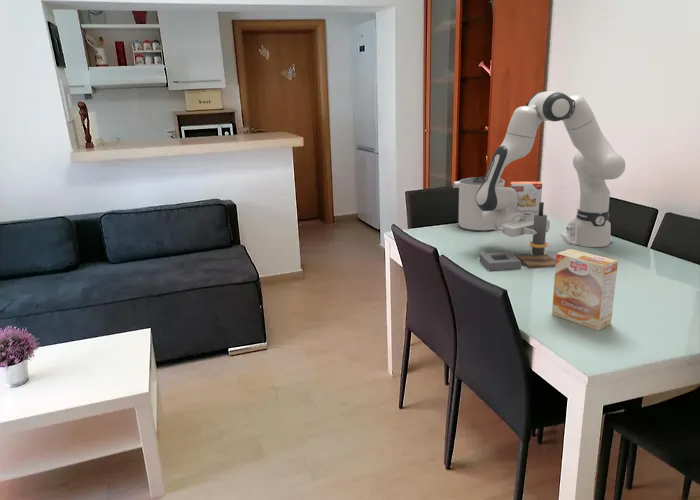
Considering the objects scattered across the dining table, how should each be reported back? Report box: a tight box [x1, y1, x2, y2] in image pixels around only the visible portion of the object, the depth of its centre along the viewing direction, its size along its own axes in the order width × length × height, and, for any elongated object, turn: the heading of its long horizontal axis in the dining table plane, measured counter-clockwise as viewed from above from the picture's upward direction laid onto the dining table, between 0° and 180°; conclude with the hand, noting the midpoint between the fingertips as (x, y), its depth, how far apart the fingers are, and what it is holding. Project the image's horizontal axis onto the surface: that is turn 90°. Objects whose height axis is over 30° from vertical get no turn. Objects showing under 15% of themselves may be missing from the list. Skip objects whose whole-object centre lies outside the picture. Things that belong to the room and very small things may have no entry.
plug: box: [529, 201, 549, 255], centre depth 200 cm, size 6×6×20 cm
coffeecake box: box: [551, 248, 619, 332], centre depth 152 cm, size 15×7×20 cm, turn 35°
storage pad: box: [516, 253, 556, 269], centre depth 204 cm, size 12×12×1 cm
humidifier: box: [452, 176, 506, 232], centre depth 254 cm, size 22×21×23 cm
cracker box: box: [509, 181, 543, 216], centre depth 253 cm, size 14×6×21 cm, turn 81°
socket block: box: [479, 251, 522, 272], centre depth 203 cm, size 12×12×3 cm
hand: (541, 231), depth 200 cm, fingers closed on plug, 4 cm apart
